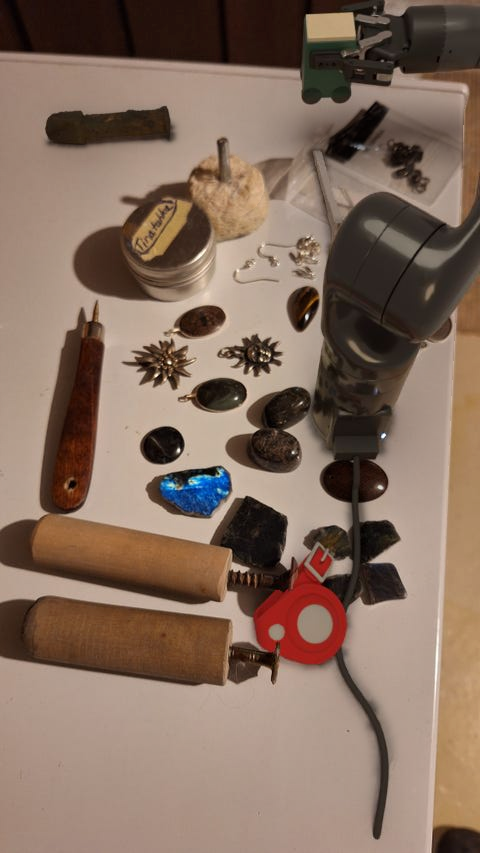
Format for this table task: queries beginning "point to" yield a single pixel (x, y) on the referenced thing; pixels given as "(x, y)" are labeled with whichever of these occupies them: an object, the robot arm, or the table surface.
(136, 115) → the hand tool
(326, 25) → the camper van
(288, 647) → the tracker holder
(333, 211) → the caliper
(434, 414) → the table surface
